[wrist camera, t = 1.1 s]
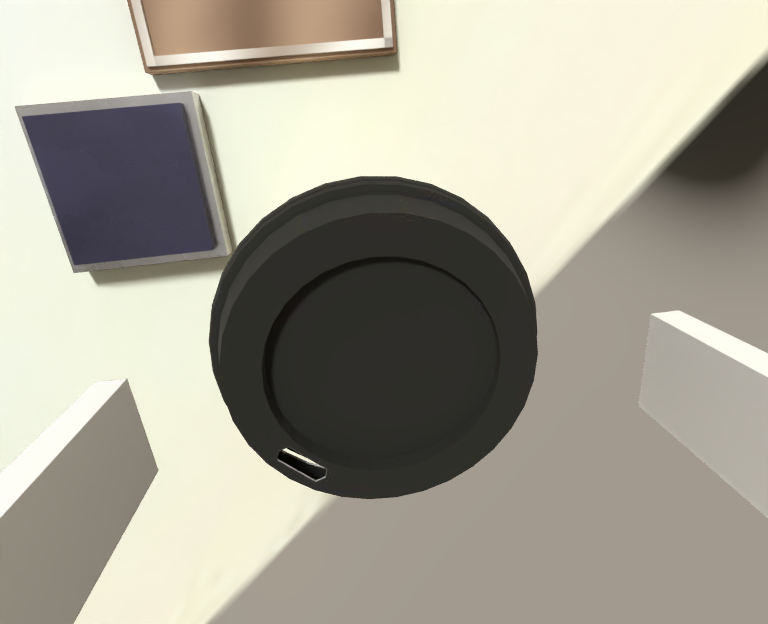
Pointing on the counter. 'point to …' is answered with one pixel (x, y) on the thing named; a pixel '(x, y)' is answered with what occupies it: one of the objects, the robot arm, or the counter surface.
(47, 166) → the ink pad
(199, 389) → the counter surface
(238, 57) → the board
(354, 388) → the coffee cup
